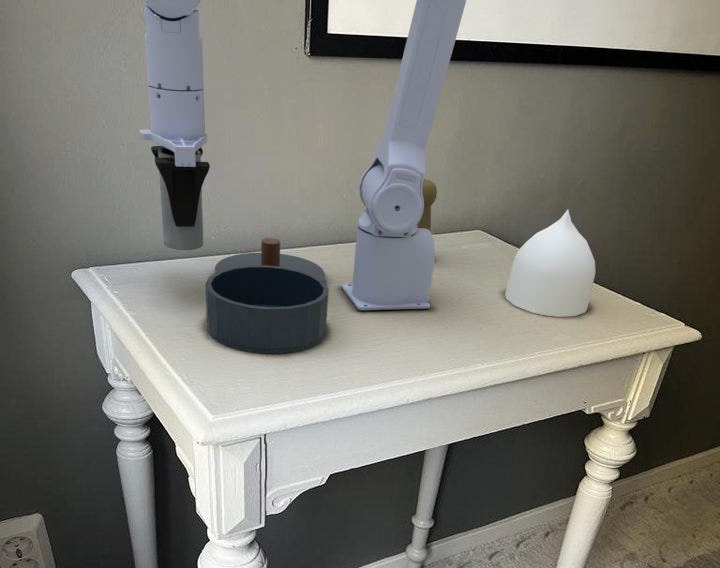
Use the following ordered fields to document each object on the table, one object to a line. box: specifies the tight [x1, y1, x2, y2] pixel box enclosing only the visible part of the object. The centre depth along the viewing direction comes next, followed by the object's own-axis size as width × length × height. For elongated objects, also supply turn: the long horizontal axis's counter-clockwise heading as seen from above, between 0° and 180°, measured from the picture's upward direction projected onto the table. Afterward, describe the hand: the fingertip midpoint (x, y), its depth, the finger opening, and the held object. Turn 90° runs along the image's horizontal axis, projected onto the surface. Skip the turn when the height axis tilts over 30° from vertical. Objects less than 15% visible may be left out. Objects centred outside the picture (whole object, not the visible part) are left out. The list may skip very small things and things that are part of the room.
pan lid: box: [214, 237, 326, 282], centre depth 95 cm, size 14×14×5 cm
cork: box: [417, 178, 438, 233], centre depth 106 cm, size 6×6×11 cm
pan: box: [204, 265, 330, 355], centre depth 81 cm, size 13×13×5 cm
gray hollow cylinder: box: [158, 147, 204, 251], centre depth 83 cm, size 4×4×10 cm
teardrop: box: [504, 209, 596, 318], centre depth 95 cm, size 11×11×12 cm
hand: (182, 219), depth 85 cm, fingers closed on gray hollow cylinder, 4 cm apart
